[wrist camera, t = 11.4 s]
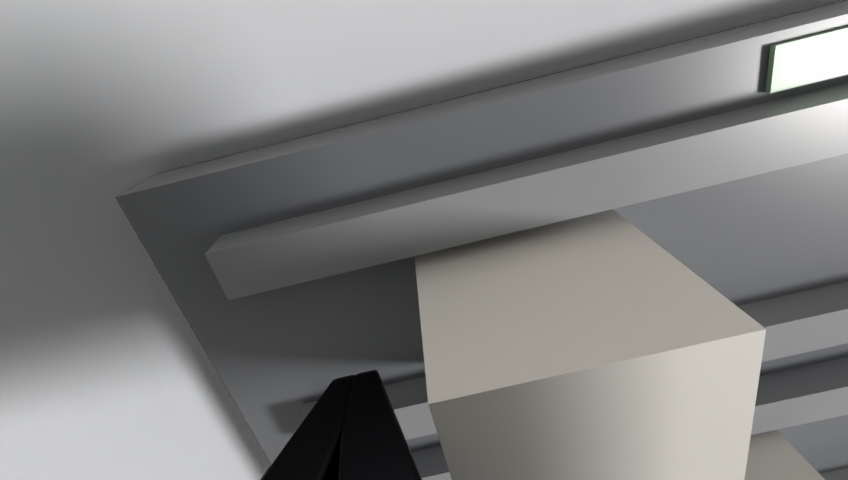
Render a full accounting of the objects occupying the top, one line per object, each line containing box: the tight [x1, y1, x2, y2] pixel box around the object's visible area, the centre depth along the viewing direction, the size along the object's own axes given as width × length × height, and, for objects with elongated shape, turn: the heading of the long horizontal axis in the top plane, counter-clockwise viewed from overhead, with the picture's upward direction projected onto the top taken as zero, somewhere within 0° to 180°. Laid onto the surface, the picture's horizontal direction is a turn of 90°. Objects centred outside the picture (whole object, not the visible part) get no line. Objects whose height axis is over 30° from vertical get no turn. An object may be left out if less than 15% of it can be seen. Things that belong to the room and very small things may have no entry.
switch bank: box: [116, 0, 848, 480], centre depth 11 cm, size 18×15×2 cm
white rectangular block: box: [414, 209, 766, 480], centre depth 7 cm, size 4×3×4 cm
